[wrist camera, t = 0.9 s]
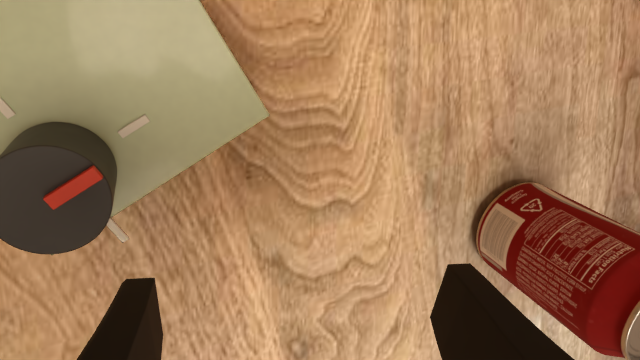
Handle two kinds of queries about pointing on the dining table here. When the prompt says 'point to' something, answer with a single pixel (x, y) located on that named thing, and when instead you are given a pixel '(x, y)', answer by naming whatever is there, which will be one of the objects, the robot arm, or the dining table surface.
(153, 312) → the robot arm
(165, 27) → the panel
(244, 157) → the dining table surface
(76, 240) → the knob
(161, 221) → the dining table surface
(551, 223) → the soda can
